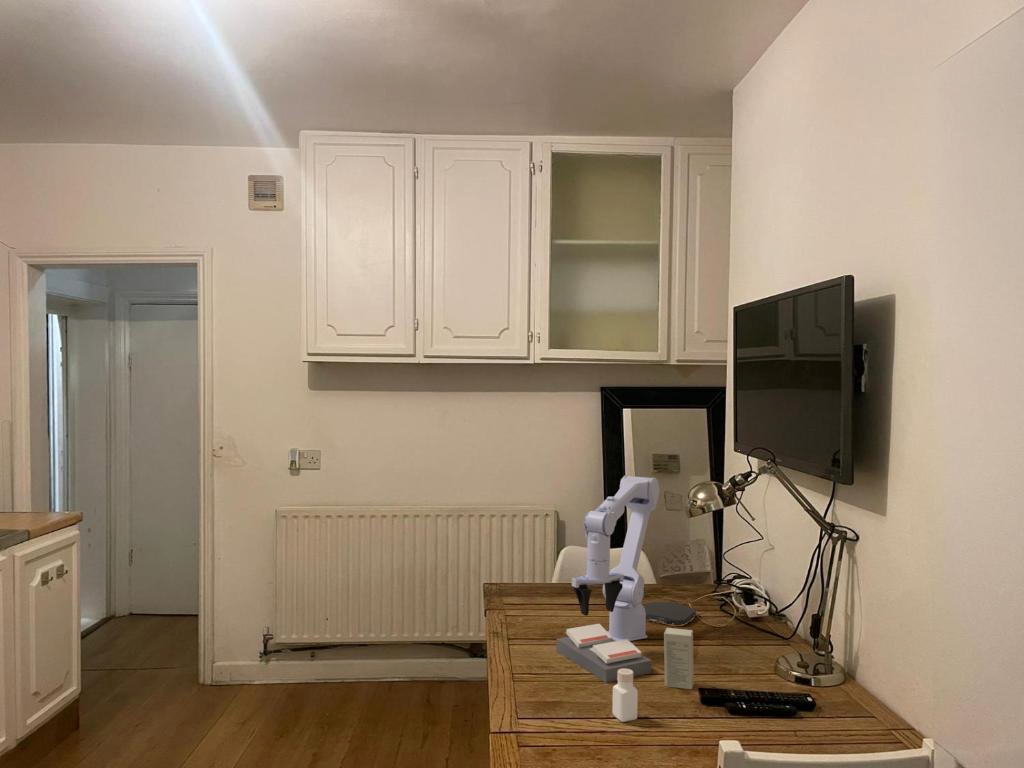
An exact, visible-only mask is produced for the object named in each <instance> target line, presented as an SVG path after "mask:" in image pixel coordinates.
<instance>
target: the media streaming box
mask: <svg viewBox="0 0 1024 768" xmlns="http://www.w3.org/2000/svg"><path fill="white" fill-rule="evenodd" d="M642 605H643V606H644V609H645V612H646V620H651V621H655V622H660V621H664V622H663V623H666V624H672V623H674V625H681V624H685V623H687V622H688V621H690V620H691V619H692V618H693V617H694V615H695V614H696V615H697V609H695V608H694V607H691V606H688V605H685V604H682V603H677V602H673V601H671V602H670V601H651V602H650V601H649V602H647V603H645V604H642Z"/></svg>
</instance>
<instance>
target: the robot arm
mask: <svg viewBox="0 0 1024 768" xmlns="http://www.w3.org/2000/svg"><path fill="white" fill-rule="evenodd" d="M619 483H620V484H619V489H618V491H617V492H616V493H615V494H614V496H607V497H606V499H604V501H603V502H602V503H601V504H600V505H598V507H597V508H596V509H595V510H590V511H588V512H587V513H586V514H585V516H584V518H583V519H584V520H583V522H582V524H583V530H584V532H585V533H584V534H585V535H584V538H585V540H586V542H587V543H586V544H587V548H586V552H587V553H586V574H584V575H581V576H577V577H571V586H572V589H573V591H574V593H575V596H576V598H577V600H578V603H579V606H580V607H579V608H580V613H581V614H582V615H583V616H585V617H586V616H587V617H588V616H589V610H590V598H591V594H592V589H589V587H588V586H592V585H593V586H595V585H601V584H603V585H602V594H603V597H604V599H605V608H606V611H608V613H609V615H608V616H609V618H608V619H609V626H608V628H609V629H608V630H606V631H607V632H608V633H609V635H610V636H611V637H612V639H613V640H615V641H619V640H625V639H627V640H628V641H630V642H633V641H638V640H642V639H647V638H648V635H647V634H646V630H647V629H646V628H647V627H646V623H647V621H646V612H645V609H644V606H643V605H644V604H642V601H643V599H644V594H645V593H644V591H645V590H644V588H645V587H644V586H645V580H644V577H643V576H642V574H640V573H641V572H639V571H638V565H639V562H640V557H641V554H642V553H641V552H642V549H643V545H644V541H645V536H646V532H647V527H648V523H649V519H650V515H651V513H652V512H653V511H655V510H656V507H657V505H658V500H659V495H660V483H659V480H657V478H656V477H645V476H632V475H628V474H627V475H623V477H622V478H621V479H620V482H619ZM625 507H626V508H628V509H629V510H630V511H631V515H630V519H629V522H628V526H627V531H626V535H625V538H624V541H623V542H624V543H623V547H622V550H621V551H622V552H621V555H620V560H619V563H618V565H616V566H615V567H613V568H612V569H610V566H611V565H610V563H611V558H610V557H611V550H610V549H611V535H612V534H613V533H614V531H615V527H616V525H617V521H618V519H620V518H621V516H623V514H624V512H625Z"/></svg>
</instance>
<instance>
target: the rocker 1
mask: <svg viewBox="0 0 1024 768" xmlns="http://www.w3.org/2000/svg"><path fill="white" fill-rule="evenodd" d="M607 631H608V630H606V629H605V628H604V627H603V626H602V625H601V624H600V623H594V624H589V625H583V626H578V627H572V628H566V632H565V634H566V635H567V637H570V639H571V640H572V641H573V642H574V643H575V645H576V646H577V647H578V648H580V647H585V646H591V645H596V644H602V643H607V642H611V641H612V637H611V636H610V635H609V633H608V632H607Z"/></svg>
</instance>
